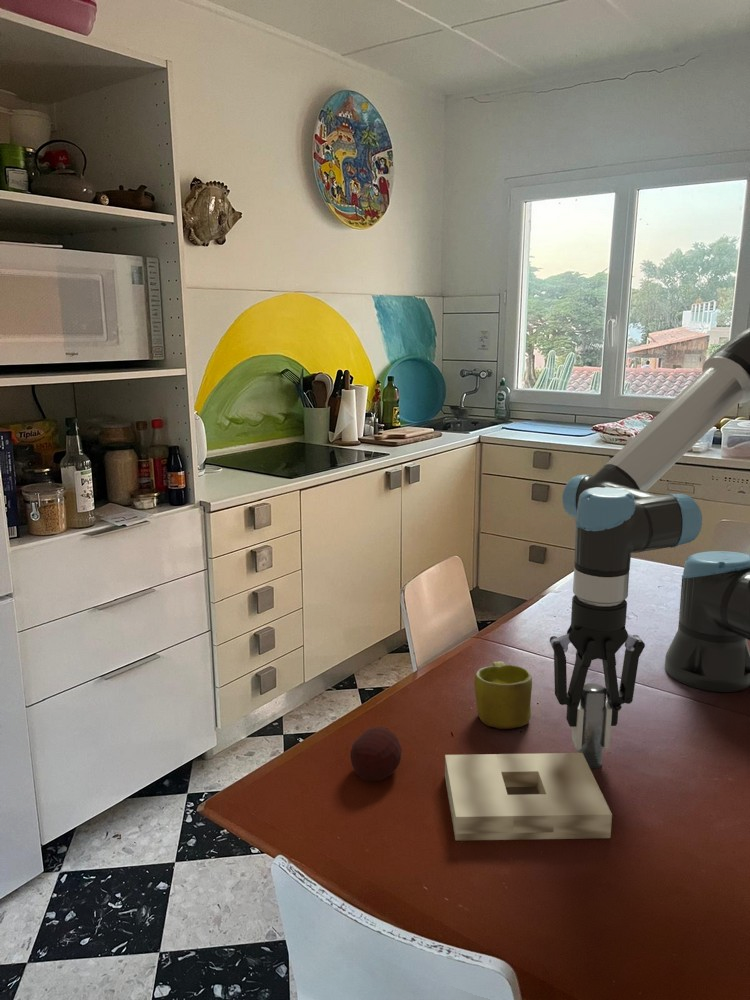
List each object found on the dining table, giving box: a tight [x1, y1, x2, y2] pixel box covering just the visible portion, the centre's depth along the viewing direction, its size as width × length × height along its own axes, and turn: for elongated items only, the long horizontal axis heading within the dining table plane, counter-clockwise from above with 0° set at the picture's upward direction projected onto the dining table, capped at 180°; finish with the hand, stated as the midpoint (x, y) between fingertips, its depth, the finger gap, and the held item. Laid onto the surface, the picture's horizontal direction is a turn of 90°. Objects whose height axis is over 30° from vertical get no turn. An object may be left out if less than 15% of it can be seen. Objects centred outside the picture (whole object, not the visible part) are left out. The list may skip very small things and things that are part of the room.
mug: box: [474, 660, 533, 730], centre depth 128 cm, size 12×10×10 cm
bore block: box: [444, 752, 613, 842], centre depth 105 cm, size 20×14×4 cm
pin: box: [576, 683, 607, 770], centre depth 114 cm, size 4×4×12 cm
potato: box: [350, 726, 402, 782], centre depth 113 cm, size 7×10×6 cm
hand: (590, 743), depth 115 cm, fingers closed on pin, 3 cm apart
